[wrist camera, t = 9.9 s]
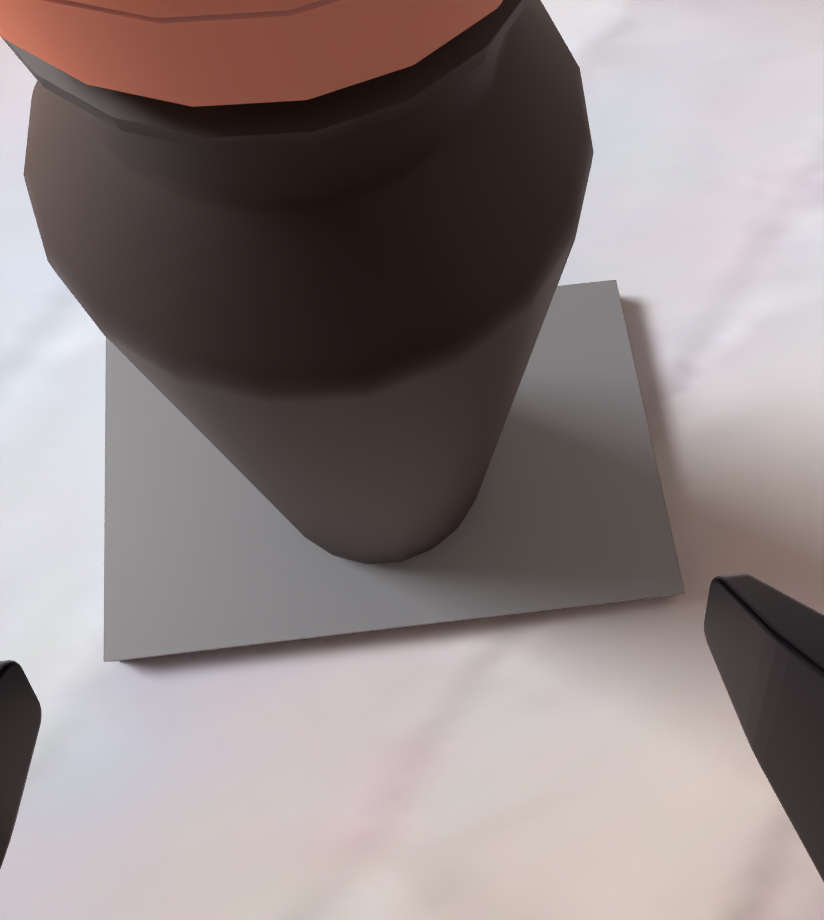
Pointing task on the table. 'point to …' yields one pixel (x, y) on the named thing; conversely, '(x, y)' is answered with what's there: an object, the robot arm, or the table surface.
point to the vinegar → (315, 230)
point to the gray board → (420, 577)
